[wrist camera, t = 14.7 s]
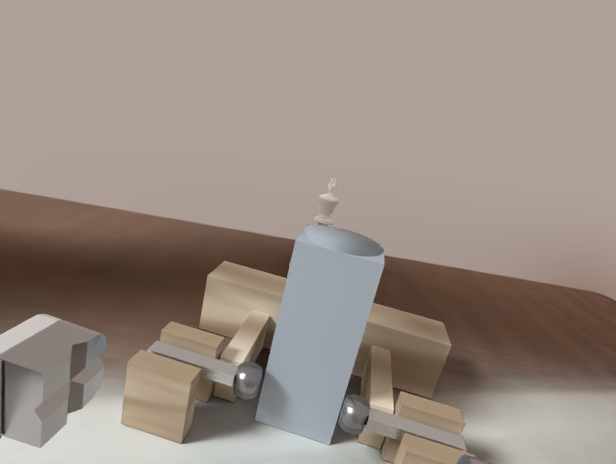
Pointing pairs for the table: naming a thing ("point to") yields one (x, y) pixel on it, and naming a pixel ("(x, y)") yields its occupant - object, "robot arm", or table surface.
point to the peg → (319, 330)
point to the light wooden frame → (259, 334)
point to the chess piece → (327, 206)
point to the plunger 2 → (390, 424)
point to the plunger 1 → (216, 369)
